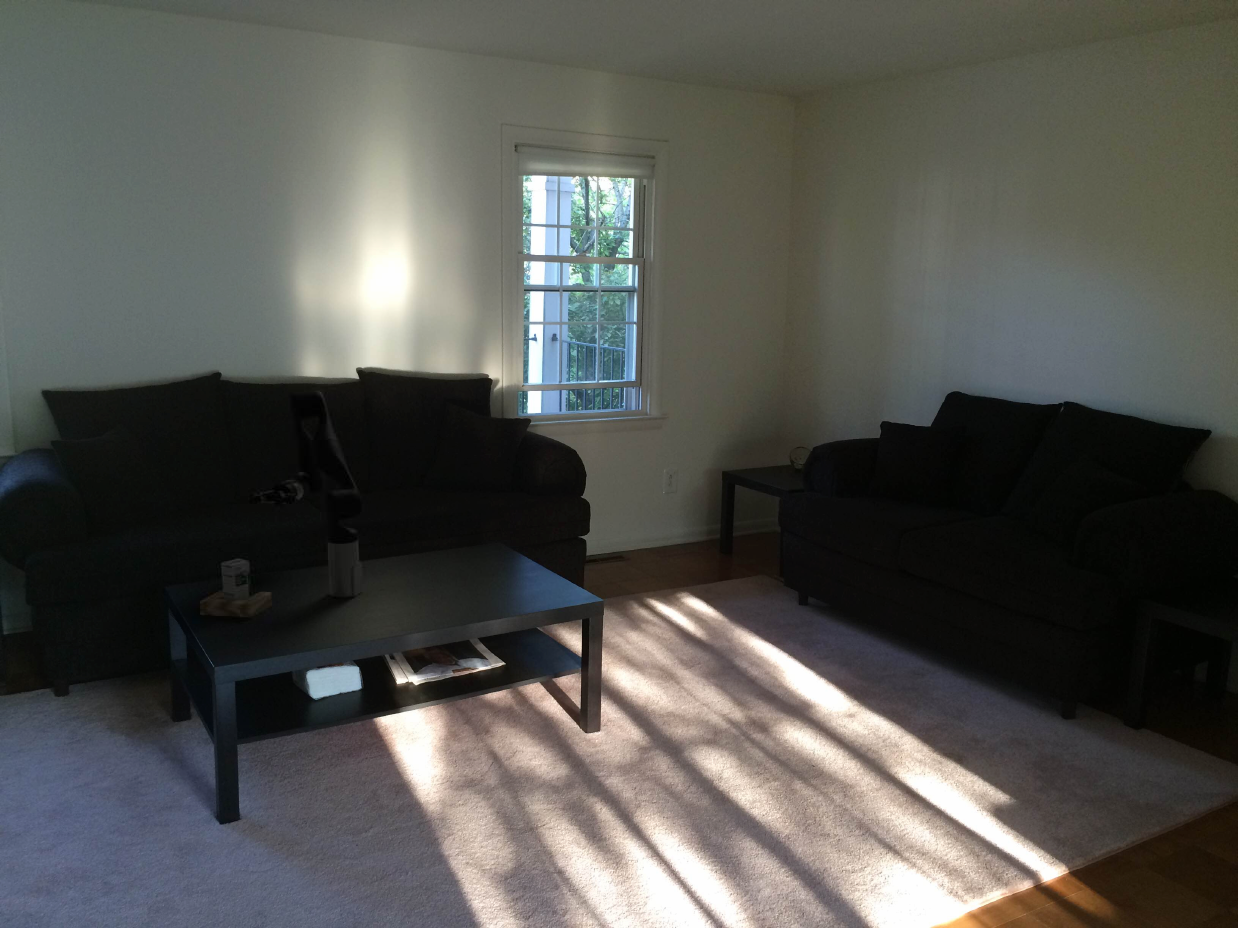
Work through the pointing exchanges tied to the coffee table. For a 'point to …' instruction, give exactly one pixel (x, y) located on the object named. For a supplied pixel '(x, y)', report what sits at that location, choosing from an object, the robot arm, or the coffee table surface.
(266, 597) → the cradle
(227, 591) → the syrup box
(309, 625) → the coffee table surface
